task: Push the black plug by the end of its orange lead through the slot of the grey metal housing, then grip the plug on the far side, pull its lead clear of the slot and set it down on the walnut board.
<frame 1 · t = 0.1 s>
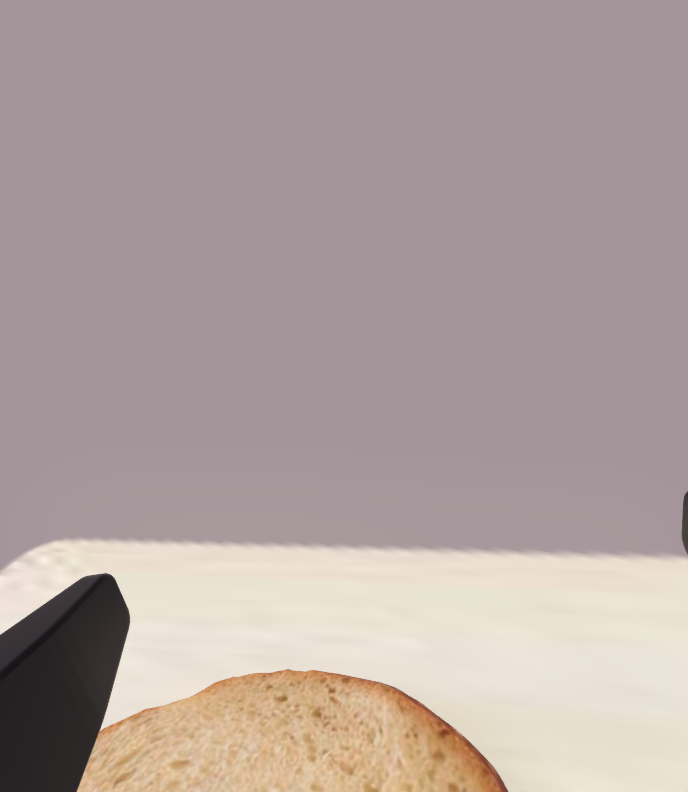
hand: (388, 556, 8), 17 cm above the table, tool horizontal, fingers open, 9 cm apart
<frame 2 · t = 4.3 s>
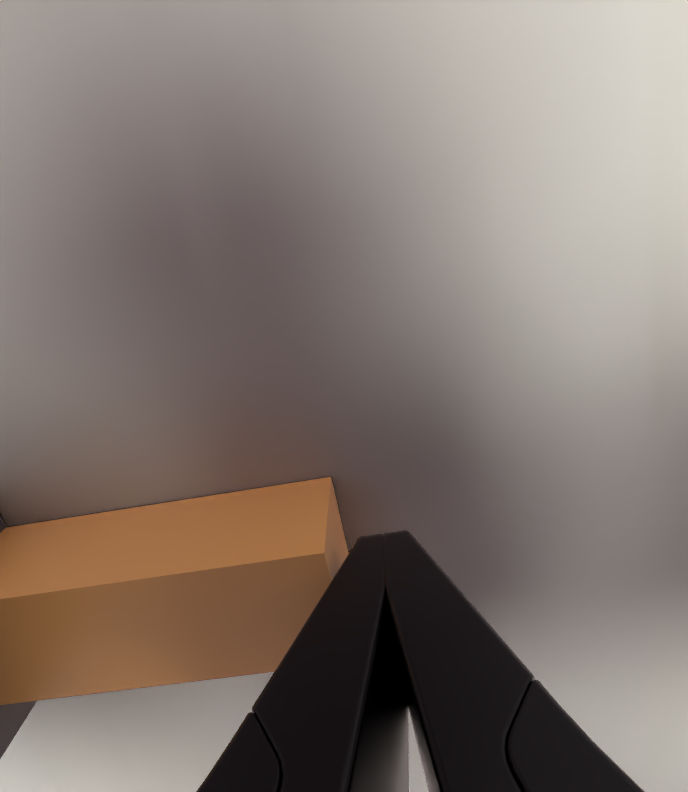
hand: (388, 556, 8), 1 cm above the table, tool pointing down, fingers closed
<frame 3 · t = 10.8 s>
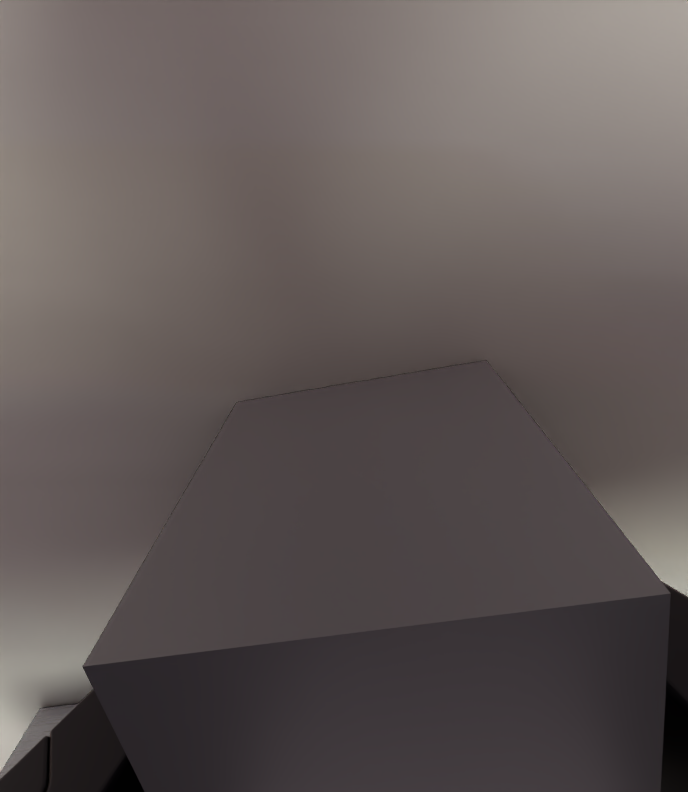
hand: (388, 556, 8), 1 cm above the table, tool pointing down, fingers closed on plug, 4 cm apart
plug: (379, 489, 9), on the table, touching gripper
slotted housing: (431, 762, 11), on the table
when the fingers open (3 cm above the table, at t = 16.4 s): plug drops 2 cm, resting on walnut board.
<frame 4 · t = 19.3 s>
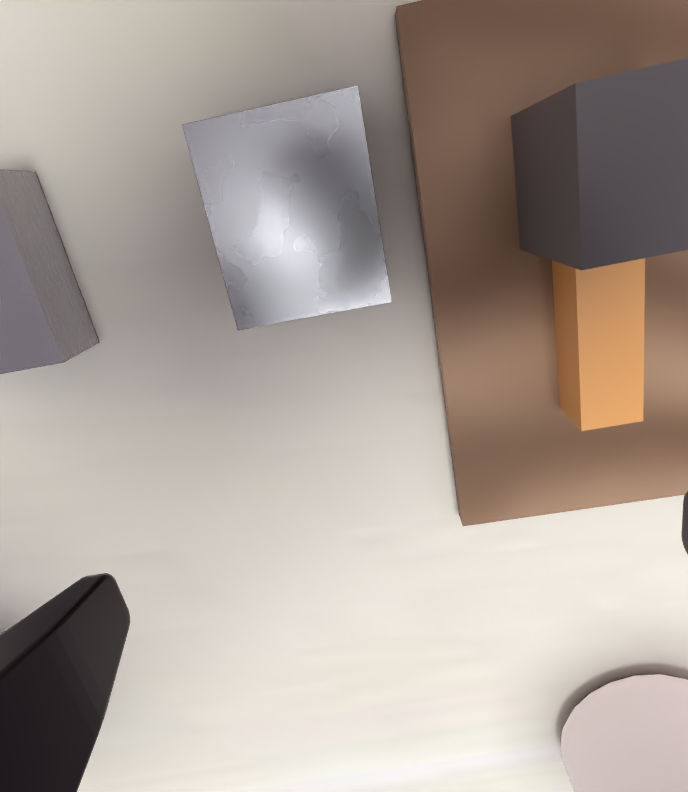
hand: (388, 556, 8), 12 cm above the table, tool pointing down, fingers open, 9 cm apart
plug: (579, 172, 16), point 1 cm above the table, touching walnut board
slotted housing: (148, 245, 18), on the table
walnut board: (573, 282, 18), on the table
potion bottle: (634, 719, 26), on the table
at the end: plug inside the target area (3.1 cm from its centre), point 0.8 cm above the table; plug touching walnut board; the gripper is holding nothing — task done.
